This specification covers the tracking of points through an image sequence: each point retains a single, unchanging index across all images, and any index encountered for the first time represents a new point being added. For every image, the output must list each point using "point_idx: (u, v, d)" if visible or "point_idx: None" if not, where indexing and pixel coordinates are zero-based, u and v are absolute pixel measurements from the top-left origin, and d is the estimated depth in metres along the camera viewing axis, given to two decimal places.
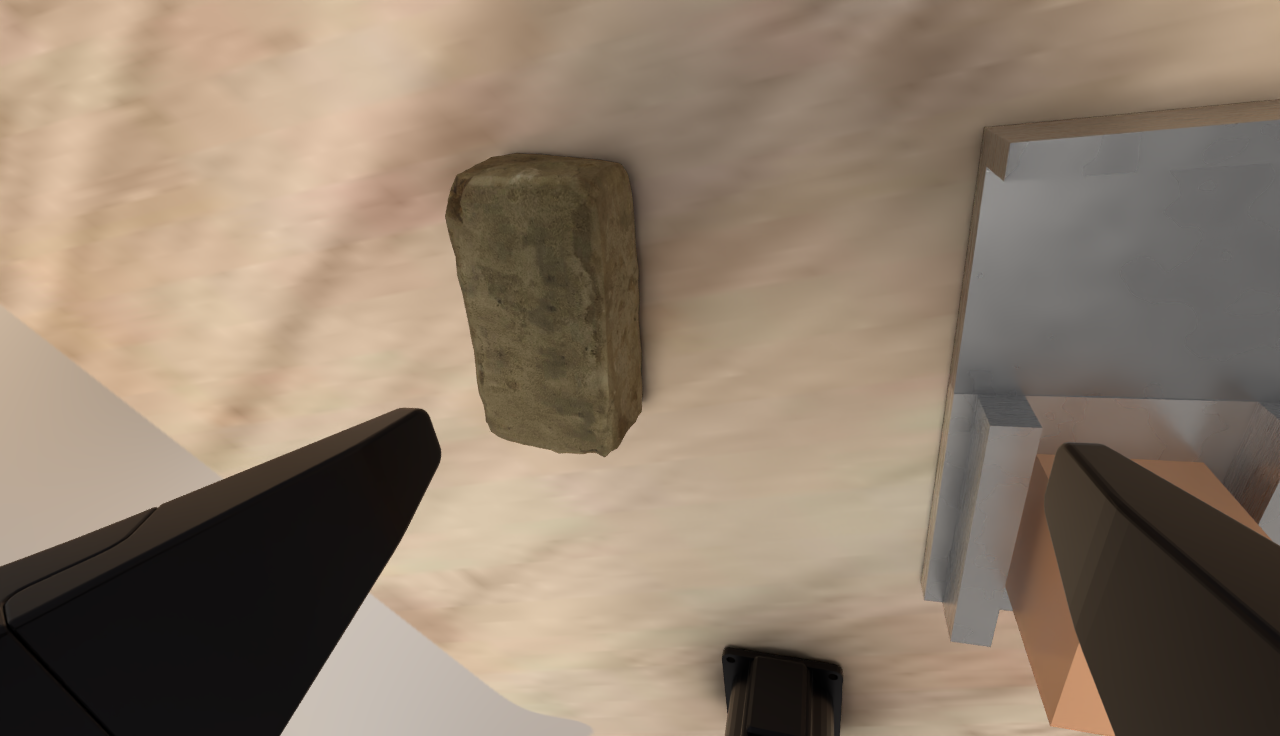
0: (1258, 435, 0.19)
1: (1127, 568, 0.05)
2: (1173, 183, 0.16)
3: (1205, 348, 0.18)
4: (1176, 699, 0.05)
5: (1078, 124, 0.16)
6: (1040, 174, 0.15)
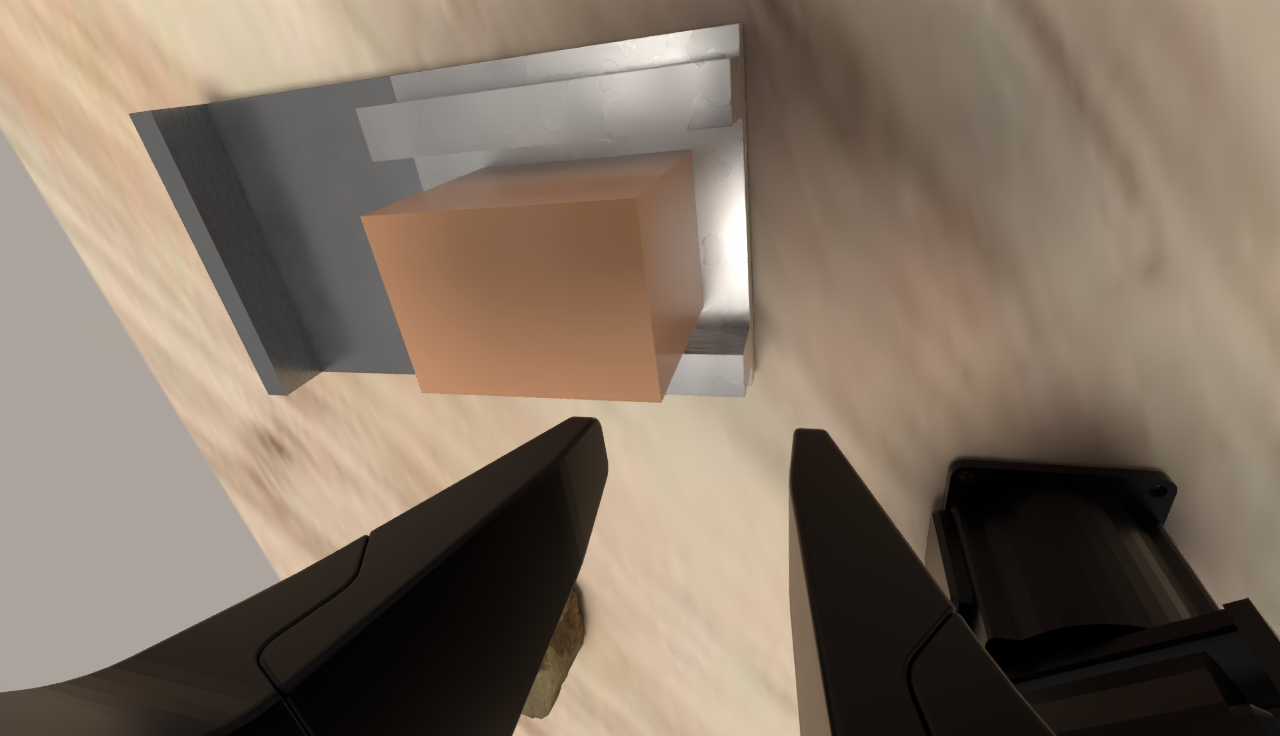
0: None
1: (791, 533, 0.06)
2: (293, 268, 0.23)
3: None
4: (799, 641, 0.06)
5: None
6: (276, 378, 0.24)
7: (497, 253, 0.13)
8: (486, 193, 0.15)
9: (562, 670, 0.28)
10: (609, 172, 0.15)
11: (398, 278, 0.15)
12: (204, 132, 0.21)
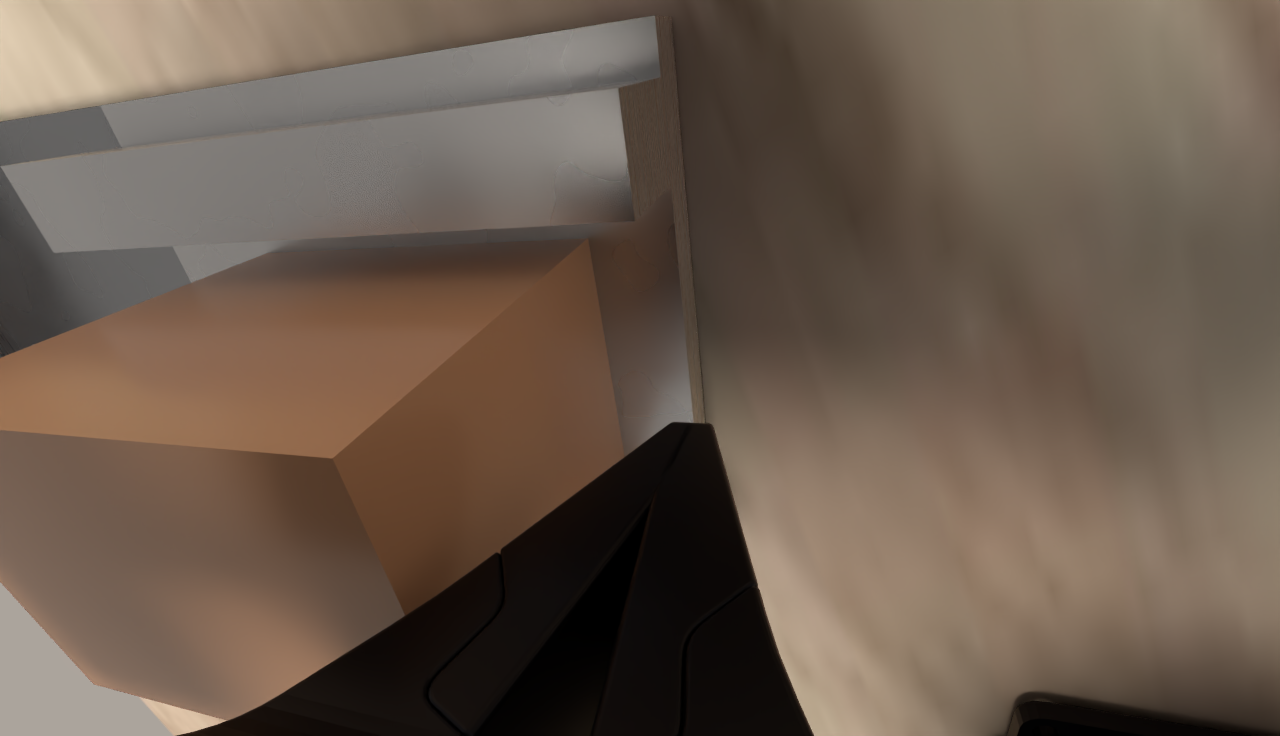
0: None
1: None
2: None
3: None
4: None
5: None
6: None
7: (105, 515, 0.06)
8: (144, 354, 0.07)
9: None
10: (404, 303, 0.08)
11: None
12: None
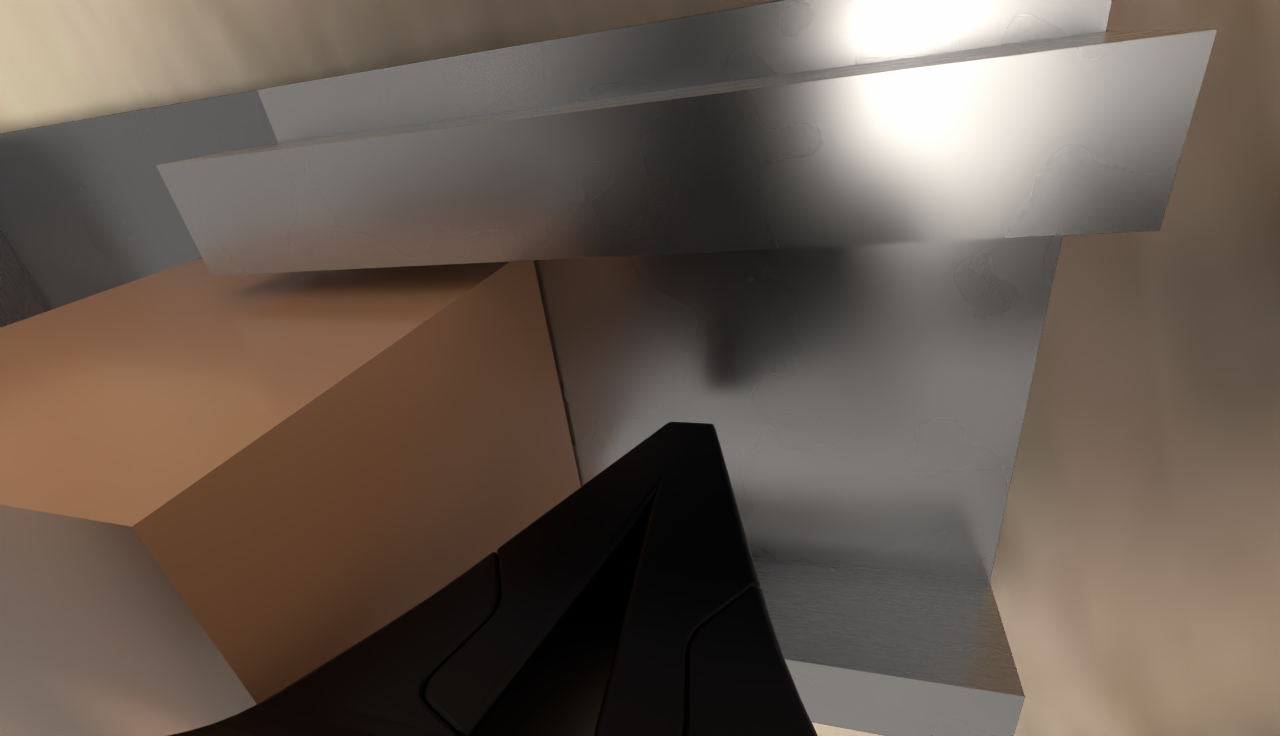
0: None
1: None
2: None
3: None
4: None
5: None
6: None
7: None
8: (7, 377, 0.06)
9: None
10: (307, 321, 0.07)
11: None
12: None
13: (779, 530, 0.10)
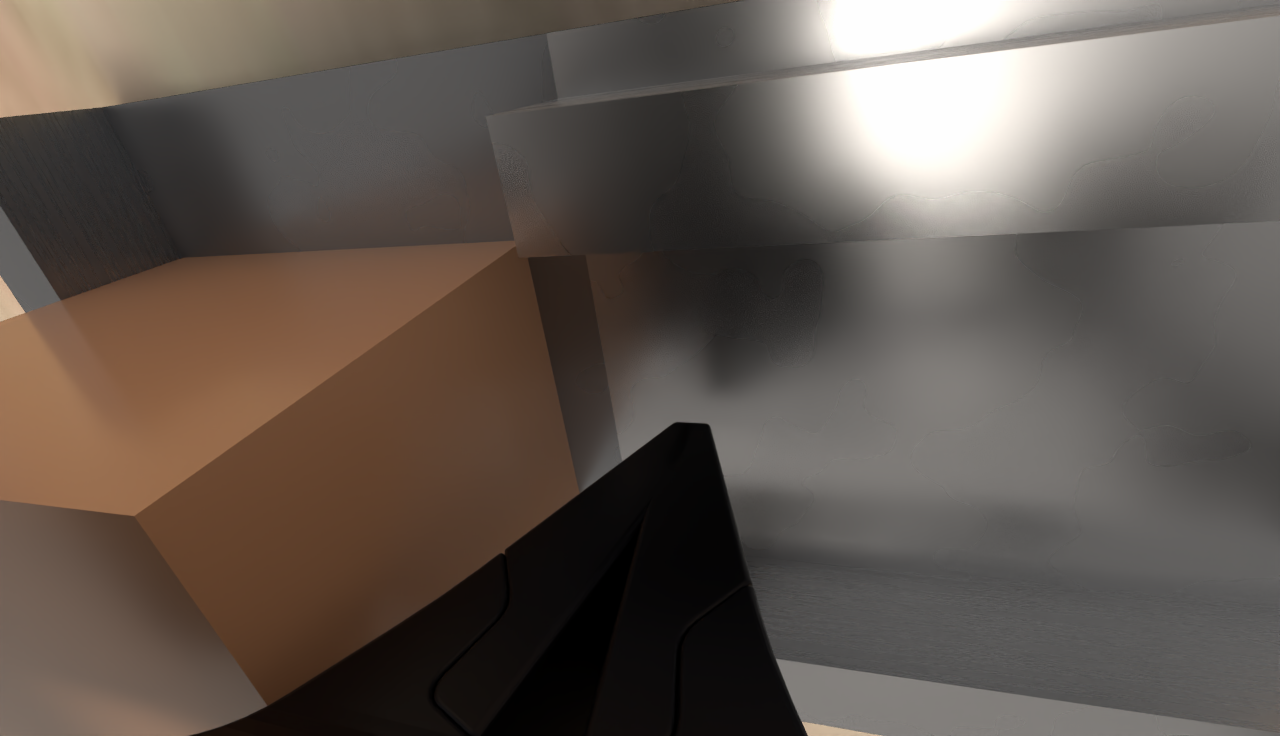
0: None
1: None
2: None
3: None
4: None
5: None
6: None
7: None
8: None
9: None
10: (301, 315, 0.07)
11: None
12: (100, 168, 0.09)
13: (1106, 558, 0.09)
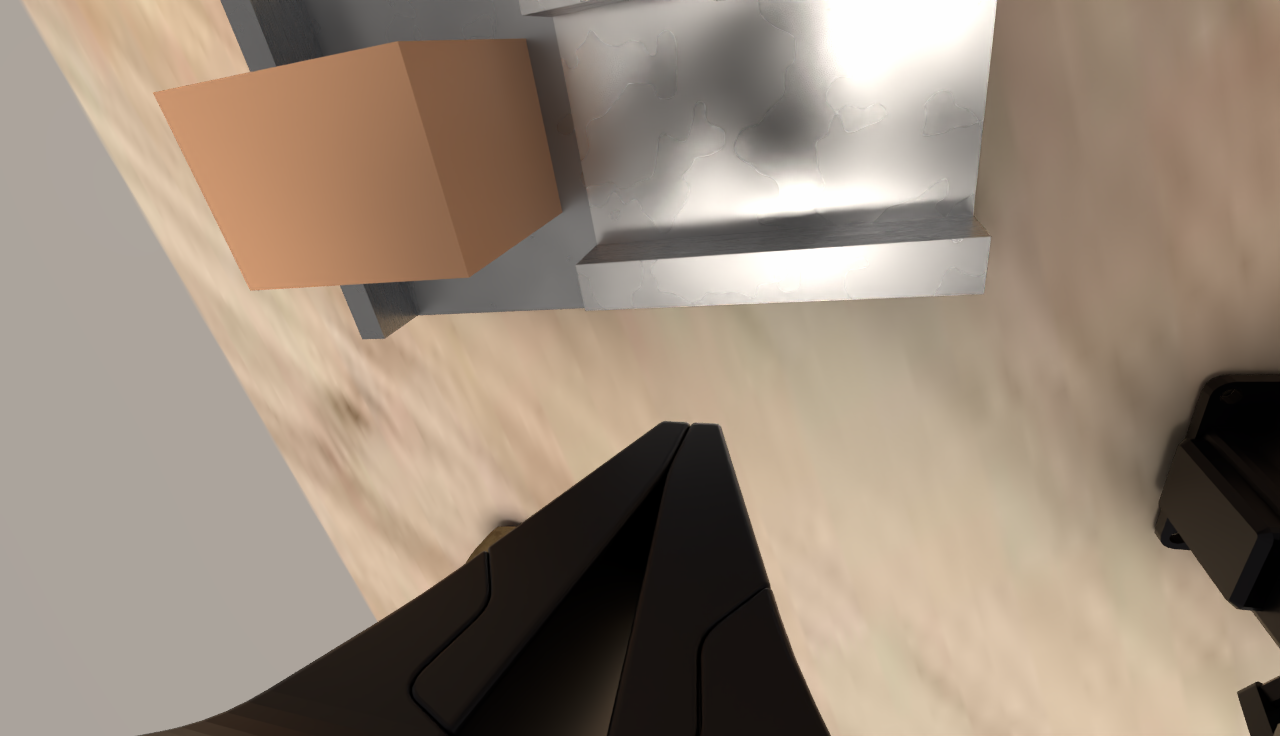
0: (575, 10, 0.15)
1: None
2: None
3: None
4: None
5: None
6: (373, 317, 0.21)
7: (285, 120, 0.13)
8: None
9: None
10: None
11: (201, 160, 0.14)
12: (296, 15, 0.17)
13: (841, 200, 0.16)
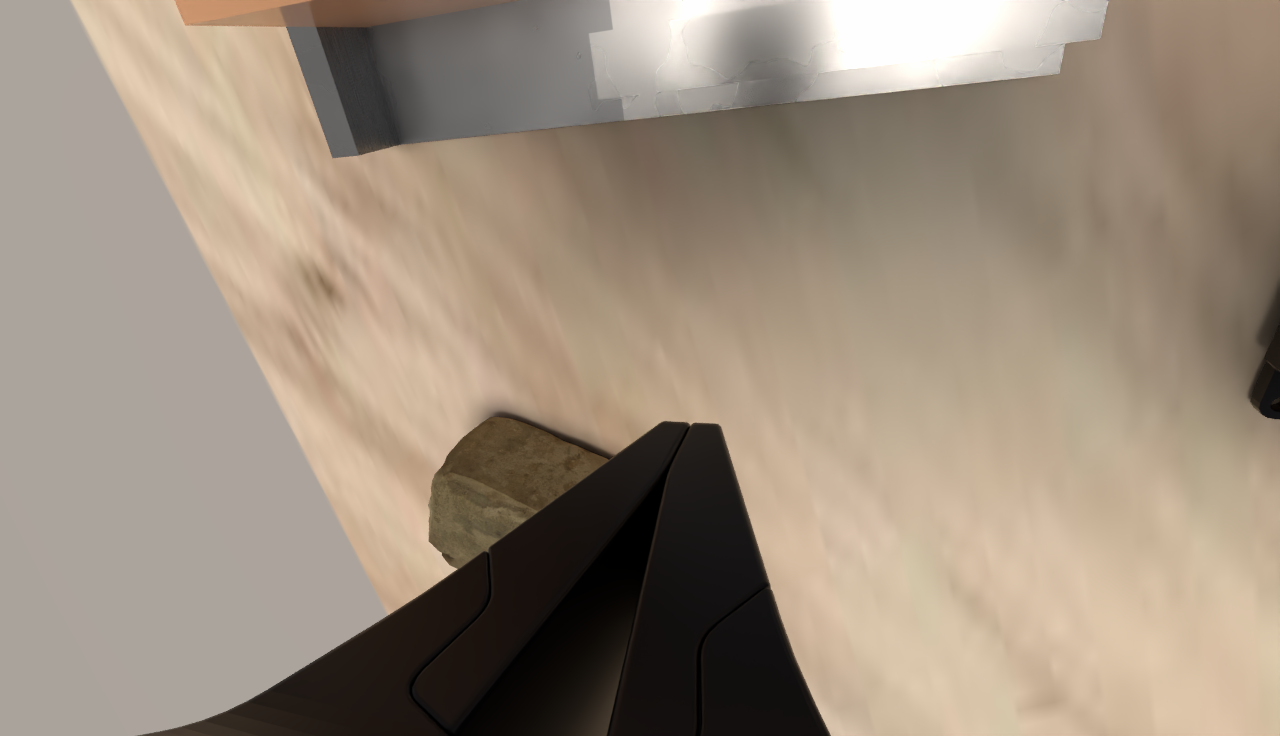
0: None
1: None
2: None
3: None
4: None
5: None
6: (345, 127, 0.17)
7: None
8: None
9: None
10: None
11: None
12: None
13: None
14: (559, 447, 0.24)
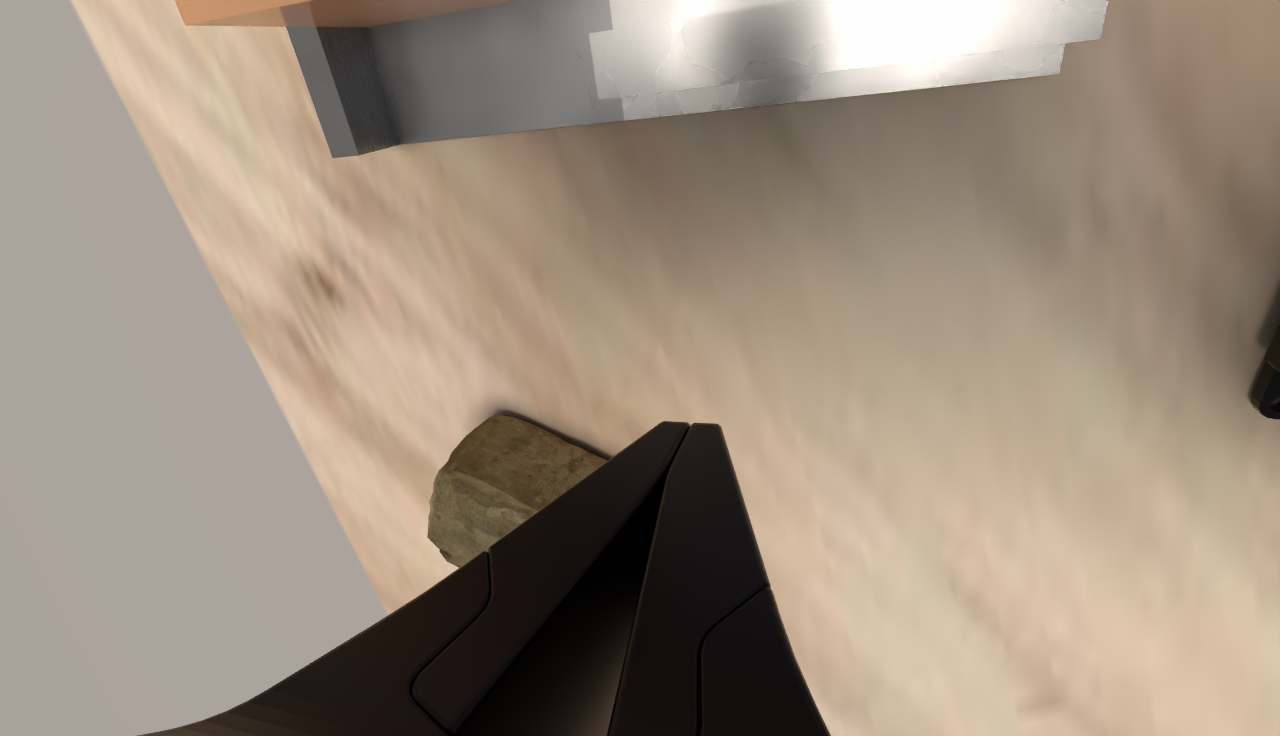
0: None
1: None
2: None
3: None
4: None
5: None
6: (345, 127, 0.17)
7: None
8: None
9: None
10: None
11: None
12: None
13: None
14: (563, 448, 0.24)
